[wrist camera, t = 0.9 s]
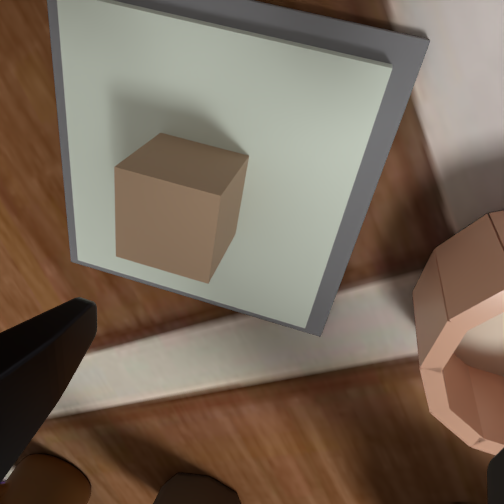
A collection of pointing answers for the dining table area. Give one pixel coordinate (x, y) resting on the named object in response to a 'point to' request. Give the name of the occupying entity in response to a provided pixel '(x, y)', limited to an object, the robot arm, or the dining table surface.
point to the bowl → (465, 333)
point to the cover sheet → (227, 111)
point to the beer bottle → (195, 491)
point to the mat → (309, 33)
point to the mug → (45, 483)
